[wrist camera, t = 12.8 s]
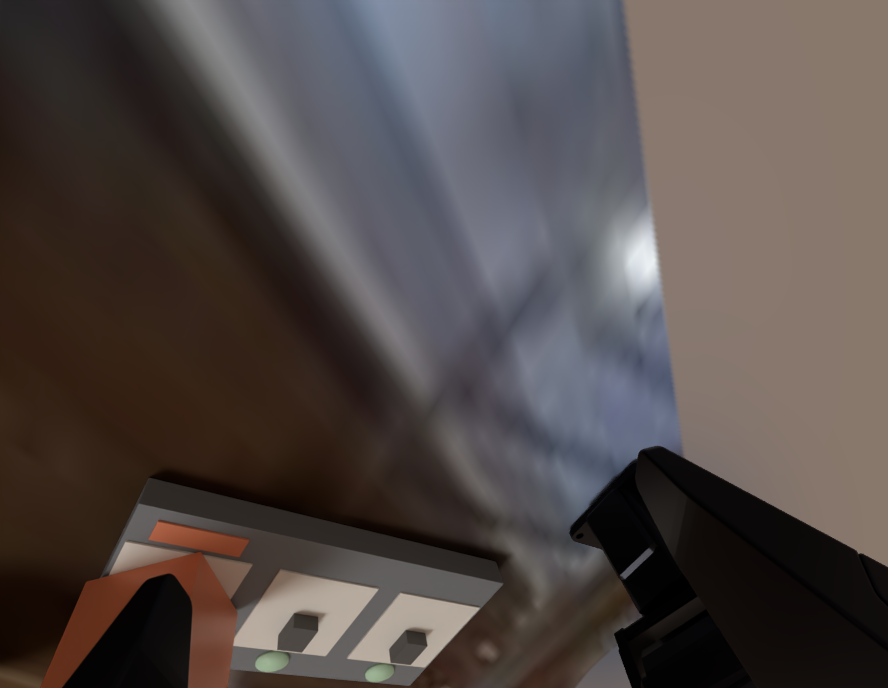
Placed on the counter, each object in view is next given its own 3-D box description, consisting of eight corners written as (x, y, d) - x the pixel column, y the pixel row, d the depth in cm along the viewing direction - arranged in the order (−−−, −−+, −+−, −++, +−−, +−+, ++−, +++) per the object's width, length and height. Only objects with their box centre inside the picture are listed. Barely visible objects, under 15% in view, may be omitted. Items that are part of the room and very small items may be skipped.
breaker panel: (496, 561, 31) (508, 597, 29) (405, 662, 34) (411, 700, 32) (148, 477, 22) (132, 520, 20) (77, 623, 26) (56, 673, 24)
